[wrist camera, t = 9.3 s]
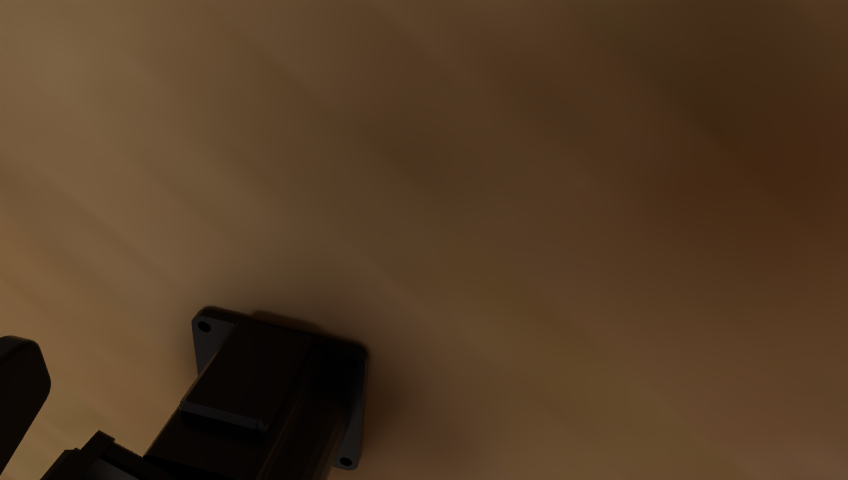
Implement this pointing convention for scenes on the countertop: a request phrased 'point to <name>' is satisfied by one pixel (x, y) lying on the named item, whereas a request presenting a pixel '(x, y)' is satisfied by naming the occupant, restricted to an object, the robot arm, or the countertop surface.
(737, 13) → the countertop surface
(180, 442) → the robot arm
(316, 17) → the countertop surface
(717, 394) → the countertop surface
